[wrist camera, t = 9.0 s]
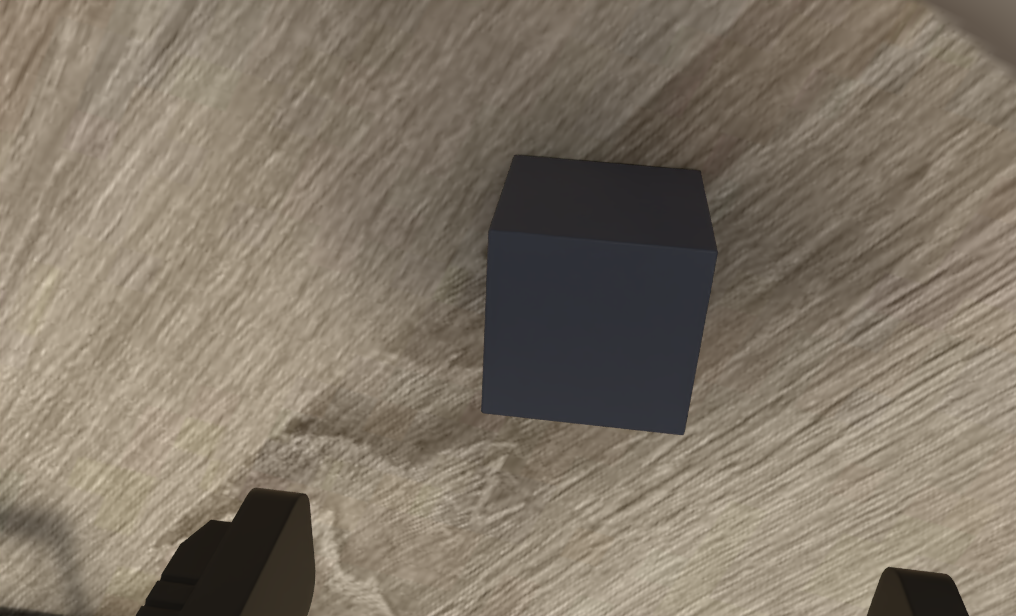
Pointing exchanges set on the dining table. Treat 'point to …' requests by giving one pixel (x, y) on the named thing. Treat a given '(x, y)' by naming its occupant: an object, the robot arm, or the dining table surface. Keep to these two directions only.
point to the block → (596, 293)
